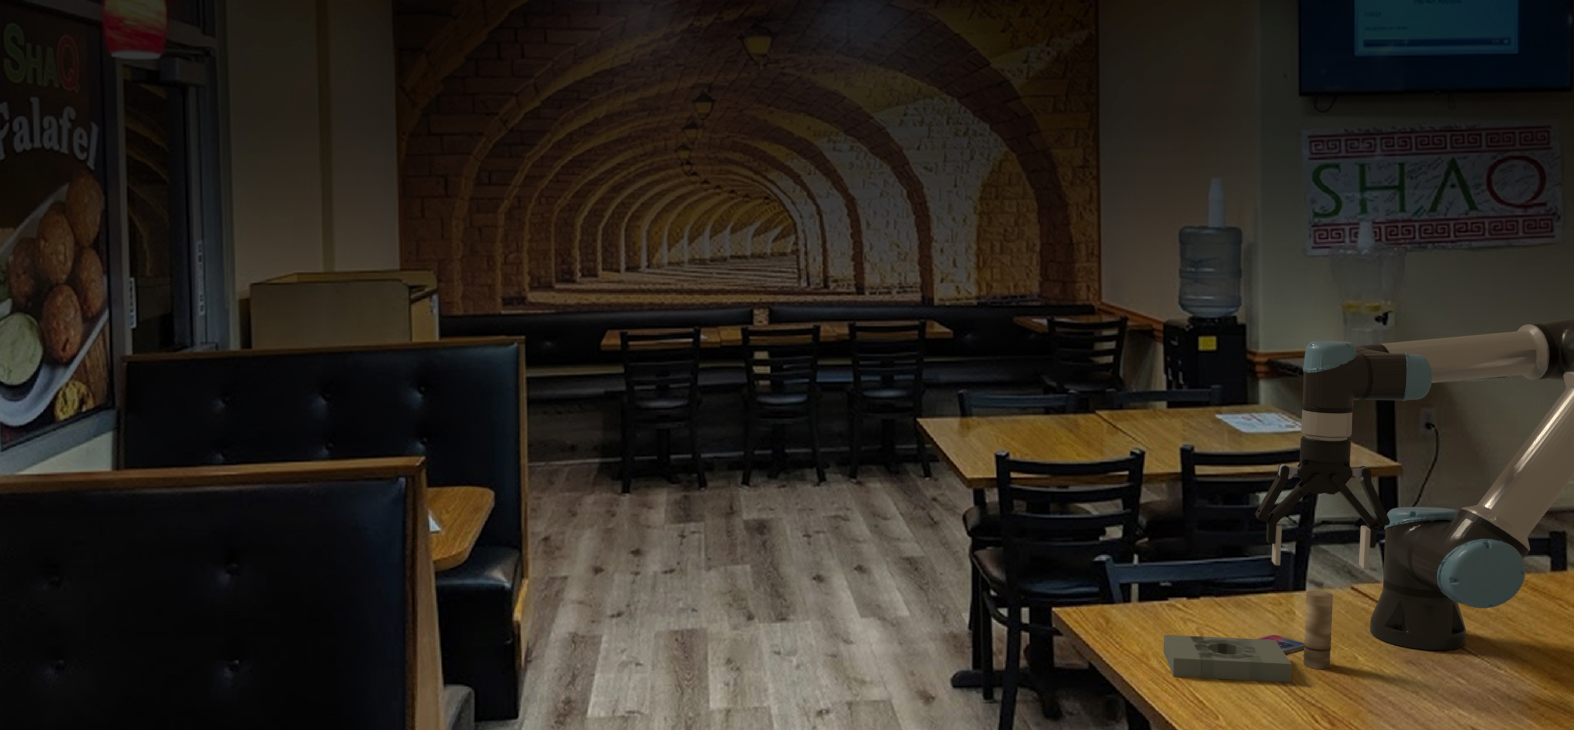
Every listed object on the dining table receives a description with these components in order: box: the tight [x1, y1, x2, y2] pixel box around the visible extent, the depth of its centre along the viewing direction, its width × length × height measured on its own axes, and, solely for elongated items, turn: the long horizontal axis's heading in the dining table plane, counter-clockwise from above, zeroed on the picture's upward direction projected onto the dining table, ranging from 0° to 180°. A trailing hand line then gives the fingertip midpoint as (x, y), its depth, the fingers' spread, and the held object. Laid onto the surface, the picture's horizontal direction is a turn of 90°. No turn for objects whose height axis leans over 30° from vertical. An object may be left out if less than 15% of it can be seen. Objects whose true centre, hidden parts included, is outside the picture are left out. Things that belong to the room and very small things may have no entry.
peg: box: [1303, 590, 1334, 670], centre depth 209 cm, size 4×4×12 cm
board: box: [1163, 634, 1292, 683], centre depth 209 cm, size 18×12×3 cm, turn 81°
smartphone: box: [1257, 634, 1304, 655], centre depth 217 cm, size 7×1×15 cm
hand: (1319, 565), depth 208 cm, fingers open, 13 cm apart
